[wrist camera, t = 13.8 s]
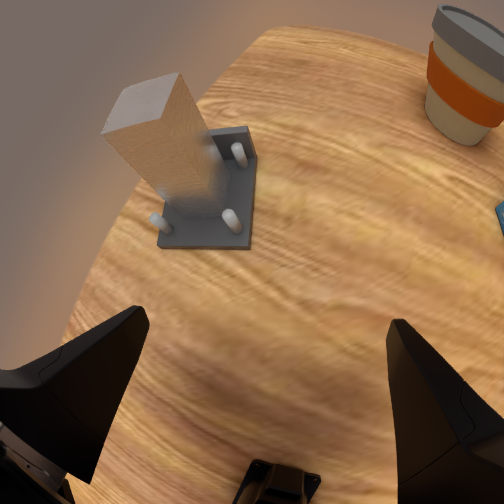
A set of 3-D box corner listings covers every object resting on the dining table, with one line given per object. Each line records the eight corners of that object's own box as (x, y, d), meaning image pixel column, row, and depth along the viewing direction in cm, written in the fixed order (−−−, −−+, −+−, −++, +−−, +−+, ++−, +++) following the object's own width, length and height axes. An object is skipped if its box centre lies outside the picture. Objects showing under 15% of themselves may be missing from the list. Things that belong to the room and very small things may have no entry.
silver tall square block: (225, 216, 25) (160, 118, 12) (182, 217, 26) (100, 134, 13) (230, 175, 26) (179, 71, 14) (189, 178, 27) (123, 88, 15)
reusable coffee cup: (501, 166, 21) (555, 91, 7) (425, 147, 24) (468, 41, 10) (472, 99, 25) (501, 27, 11) (402, 81, 27) (418, -7, 13)
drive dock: (250, 249, 24) (236, 228, 20) (161, 248, 26) (134, 230, 21) (257, 157, 27) (247, 125, 22) (178, 164, 29) (159, 137, 24)
